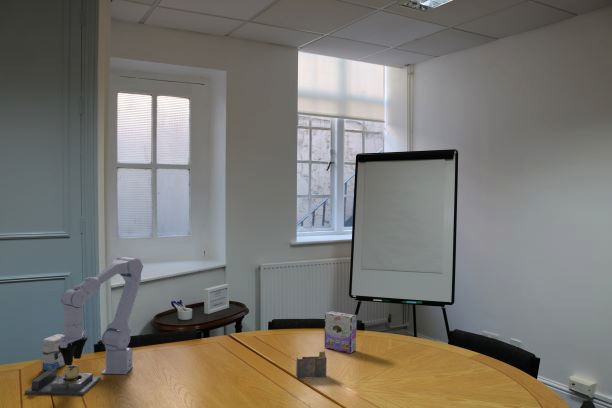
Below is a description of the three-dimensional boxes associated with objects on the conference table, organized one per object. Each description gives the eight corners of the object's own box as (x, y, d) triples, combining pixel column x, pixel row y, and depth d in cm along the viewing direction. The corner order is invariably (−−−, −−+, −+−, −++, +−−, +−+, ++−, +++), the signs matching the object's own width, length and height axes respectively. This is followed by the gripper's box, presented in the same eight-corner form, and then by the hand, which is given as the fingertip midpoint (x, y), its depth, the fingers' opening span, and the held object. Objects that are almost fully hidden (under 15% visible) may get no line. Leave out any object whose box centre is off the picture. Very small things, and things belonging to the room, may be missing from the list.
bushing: (81, 381, 173) (81, 364, 173) (74, 386, 168) (74, 369, 168) (69, 381, 173) (69, 364, 173) (62, 385, 169) (62, 368, 169)
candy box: (356, 350, 217) (357, 314, 217) (350, 354, 212) (351, 317, 212) (330, 345, 225) (330, 310, 224) (323, 348, 220) (324, 312, 219)
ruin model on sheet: (324, 375, 188) (325, 350, 188) (326, 378, 185) (326, 353, 185) (296, 376, 186) (296, 351, 186) (297, 379, 183) (297, 354, 183)
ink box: (52, 371, 185) (53, 340, 185) (41, 369, 186) (42, 339, 186) (68, 363, 193) (68, 334, 193) (57, 362, 194) (57, 333, 194)
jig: (100, 379, 178) (100, 368, 178) (83, 395, 164) (83, 383, 164) (46, 378, 178) (46, 367, 178) (24, 394, 164) (24, 382, 164)
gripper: (71, 318, 178) (71, 354, 178) (51, 329, 163) (50, 368, 163) (91, 318, 178) (90, 355, 178) (72, 329, 163) (71, 369, 163)
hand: (72, 361), depth 171 cm, fingers open, 6 cm apart
